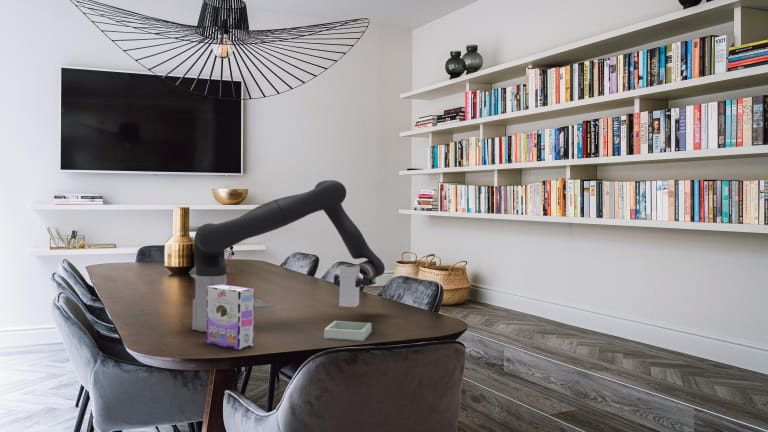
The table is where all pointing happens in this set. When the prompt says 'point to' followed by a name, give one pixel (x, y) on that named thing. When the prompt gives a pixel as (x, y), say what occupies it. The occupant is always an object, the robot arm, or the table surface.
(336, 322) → the tray
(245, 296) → the candy box
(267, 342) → the table surface
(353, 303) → the bored block
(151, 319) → the table surface
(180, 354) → the table surface
